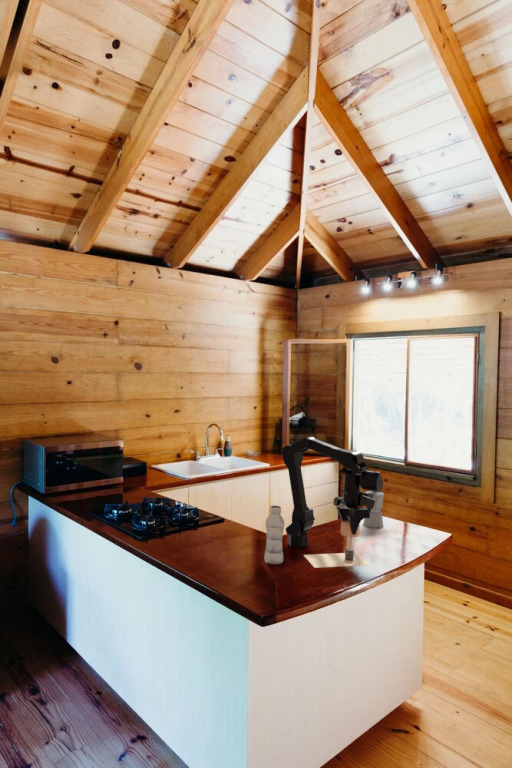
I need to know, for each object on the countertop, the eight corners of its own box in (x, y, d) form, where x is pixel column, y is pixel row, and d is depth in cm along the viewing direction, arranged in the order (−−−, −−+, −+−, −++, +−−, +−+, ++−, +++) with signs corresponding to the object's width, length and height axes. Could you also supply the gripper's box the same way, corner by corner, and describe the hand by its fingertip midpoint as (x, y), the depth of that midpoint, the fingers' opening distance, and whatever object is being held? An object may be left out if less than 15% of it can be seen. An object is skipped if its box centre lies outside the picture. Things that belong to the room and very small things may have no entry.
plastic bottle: (277, 570, 168) (279, 510, 167) (260, 565, 171) (262, 507, 171) (286, 564, 173) (288, 506, 173) (269, 559, 177) (272, 503, 176)
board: (314, 572, 167) (315, 558, 167) (303, 559, 179) (303, 545, 179) (369, 569, 172) (370, 555, 172) (355, 556, 183) (355, 543, 183)
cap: (345, 537, 172) (345, 525, 172) (338, 531, 178) (338, 520, 178) (361, 536, 174) (362, 525, 174) (354, 531, 180) (354, 520, 180)
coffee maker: (369, 520, 231) (371, 481, 231) (387, 524, 226) (389, 484, 226) (355, 527, 219) (357, 486, 219) (375, 532, 214) (376, 490, 214)
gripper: (385, 493, 169) (383, 539, 169) (361, 481, 187) (359, 523, 187) (354, 493, 166) (352, 540, 166) (333, 481, 184) (331, 523, 185)
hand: (350, 531), depth 176 cm, fingers closed on cap, 6 cm apart
